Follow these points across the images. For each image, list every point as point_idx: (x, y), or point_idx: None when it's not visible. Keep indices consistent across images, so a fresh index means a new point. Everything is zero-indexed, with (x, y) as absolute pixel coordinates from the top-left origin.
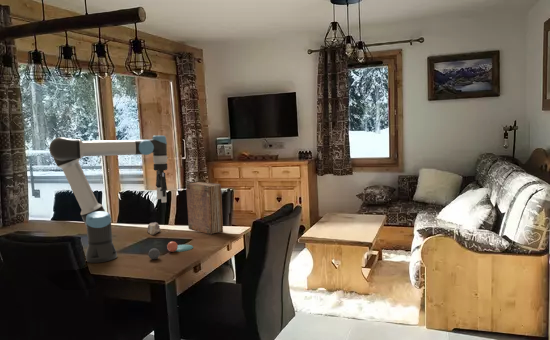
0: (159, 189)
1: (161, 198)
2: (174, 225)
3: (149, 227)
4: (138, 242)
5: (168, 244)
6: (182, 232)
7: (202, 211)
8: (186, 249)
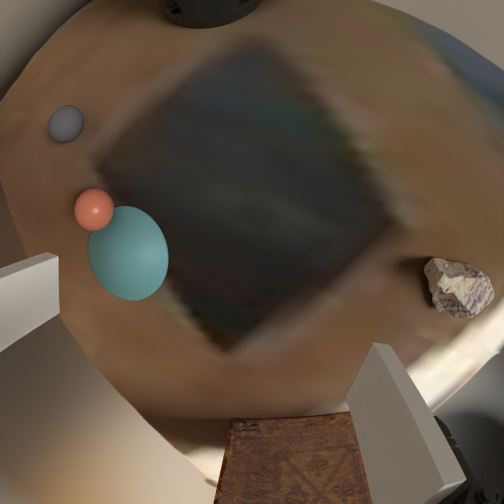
0: (399, 488)
1: (12, 265)
2: (462, 379)
3: (469, 273)
4: (351, 153)
5: (85, 192)
6: (358, 372)
7: (282, 484)
8: (96, 258)
